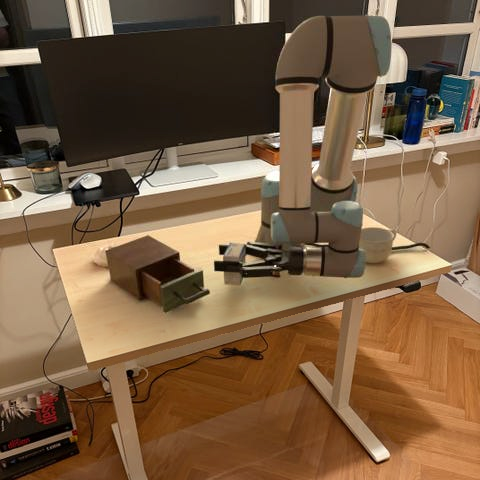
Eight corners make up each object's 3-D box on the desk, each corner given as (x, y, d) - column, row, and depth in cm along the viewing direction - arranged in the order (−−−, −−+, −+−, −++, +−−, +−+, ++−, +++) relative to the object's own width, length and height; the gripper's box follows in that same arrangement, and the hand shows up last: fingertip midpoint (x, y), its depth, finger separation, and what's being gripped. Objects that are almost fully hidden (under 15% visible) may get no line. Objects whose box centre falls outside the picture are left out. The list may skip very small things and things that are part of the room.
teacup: (365, 269, 140) (369, 244, 135) (345, 253, 148) (348, 229, 143) (406, 260, 144) (411, 236, 139) (384, 245, 152) (388, 221, 147)
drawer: (219, 303, 124) (218, 278, 120) (179, 323, 117) (177, 297, 113) (173, 276, 136) (171, 252, 132) (135, 292, 129) (131, 268, 125)
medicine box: (240, 286, 128) (239, 257, 123) (223, 284, 129) (222, 255, 124) (246, 271, 134) (245, 243, 129) (230, 270, 135) (229, 241, 130)
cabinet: (182, 282, 135) (179, 252, 130) (140, 301, 128) (135, 269, 122) (151, 263, 144) (148, 235, 139) (110, 280, 137) (105, 250, 131)
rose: (102, 237, 149) (130, 241, 147) (104, 250, 152) (133, 254, 149) (84, 252, 141) (115, 256, 139) (87, 265, 144) (117, 269, 141)
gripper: (302, 295, 120) (211, 291, 122) (302, 254, 137) (222, 251, 139) (304, 268, 116) (209, 264, 118) (304, 230, 133) (221, 227, 135)
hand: (216, 257), depth 129 cm, fingers closed on medicine box, 8 cm apart
